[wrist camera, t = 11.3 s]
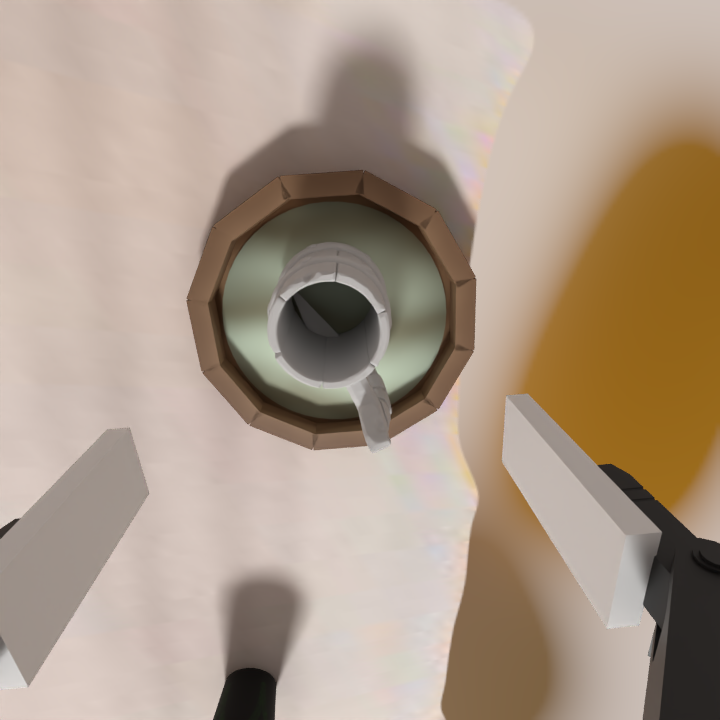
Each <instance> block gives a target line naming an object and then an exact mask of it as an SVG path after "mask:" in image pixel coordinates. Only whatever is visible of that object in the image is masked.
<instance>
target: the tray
mask: <svg viewBox="0 0 720 720" xmlns="http://www.w3.org/2000/svg"><path fill="white" fill-rule="evenodd" d="M214 226H215V227H212V229H211V232H210V235H209V238H208V240H207V243H206V246H205V249H204V251H203V254H202V257H201V260H200V263H199V265H198V268H197V271H196V274H195V277H194V279H193V282H192V285H191V288H190V290H189V293H188V296H187V299H188V300H187V306H188V310H189V315H190V320H191V325H192V329H193V334H194V339H195V343H196V348H197V353H198V357H199V362H200V367H201V371H204V372H203V374H204V375H205V376H206V378H207V379H208V380H209V381H210V382H211V383H212V384H213V385H214V387H215V388H216V389H217V390H218V391H219V392H220V393H221V395H222V396H223V397H224V398H225V399H226V400H227V401H228V402H229V404H230V405H231V406H232V407H233V408H234V409H235V410H236V411H237V413H238V414H239V415H240V416H241V417H242V418H243V419H244V421H245V422H246V423H247V424H249V423H250V426H252V427H254V428H257V429H260V430H262V431H265V432H267V433H270V434H272V435H275V436H277V437H280V438H283V439H285V440H288V441H290V442H293V443H295V444H298V445H300V446H303V447H306V448H308V449H311V450H312V449H313V448H314V450H322V449H335V448H347V447H359V446H367V443H366V441H365V438H364V434H363V431H362V426H361V421H360V417H359V412H358V409H357V407H356V405H355V403H354V402H353V400H352V398H351V396H350V394H349V392H348V390H347V388H346V387H343V388H336V389H325V388H323V386H322V385H321V387H320V388H317V387H312V386H309V385H306V384H304V383H302V382H300V381H298V380H296V379H295V378H293V377H292V376H291V375H289V374H288V373H287V372H286V371H284V369H283V368H282V367H281V366H280V365H279V363H278V362H277V361H276V359H275V352H273V350H272V348H271V346H270V345H269V341H268V335H267V324H268V313H267V309H268V304H269V303H270V300H271V297H272V294H273V292H274V289H275V287H276V286H277V284H278V280H279V278H280V275H281V273H282V271H283V269H284V268H285V266H286V265H287V263H288V262H289V261H290V260H291V259H292V258H293V257H294V256H295V255H296V254H297V253H299V252H300V251H302V250H303V249H305V248H306V247H308V246H310V245H312V244H319V243H324V242H338V243H343V244H347V245H350V246H353V247H355V248H357V249H359V250H360V251H362V252H363V253H366V254H367V255H369V256H370V258H371V260H372V261H373V262H374V263H375V264H376V266H377V267H378V269H379V270H380V272H381V274H382V276H383V279H384V282H385V285H386V291H387V296H388V299H389V303H390V309H391V318H392V326H391V329H390V338H389V343H388V346H387V349H386V352H385V354H384V356H383V358H382V359H381V360H380V361H379V365H378V366H377V367H375V369H376V371H377V373H378V374H379V375H380V376H381V378H382V379H383V381H384V384H385V387H386V390H387V393H388V397H389V400H390V404H391V408H392V414H391V420H390V423H389V430H388V433H389V438H390V439H391V438H392V437H394V436H396V435H397V434H399V433H401V432H402V431H404V430H406V429H407V428H409V427H411V426H412V425H414V424H416V423H417V422H419V421H421V420H422V419H424V418H426V417H427V416H429V415H431V414H432V413H434V412H436V411H437V409H439V408H440V406H441V405H442V403H443V401H444V400H445V398H446V396H447V395H448V393H449V391H450V390H451V388H452V386H453V385H454V383H455V381H456V380H457V378H458V377H459V375H460V373H461V372H462V370H463V368H464V367H465V365H466V363H467V362H468V360H469V358H470V357H471V355H472V353H473V350H474V340H475V303H476V301H475V300H476V279H475V275H474V273H473V271H472V269H471V268H470V266H469V264H468V262H467V261H466V259H465V257H464V255H463V254H462V252H461V250H460V248H459V247H458V245H457V243H456V241H455V239H454V238H453V236H452V234H451V232H450V231H449V229H448V227H447V225H446V224H445V222H444V220H443V218H442V217H441V215H440V213H439V211H436V209H435V208H434V207H432V206H430V205H428V204H426V203H424V202H423V201H421V200H419V199H417V198H415V197H413V196H411V195H410V194H408V193H406V192H404V191H402V190H400V189H398V188H397V187H395V186H393V185H391V184H389V183H387V182H386V181H384V180H382V179H380V178H378V177H376V176H374V175H373V174H371V173H369V172H367V171H364V173H363V170H355V171H341V172H327V173H313V174H299V175H285V176H280V177H277V178H275V179H274V180H273V181H271V182H270V183H269V184H268V185H266V186H265V187H264V188H262V189H261V190H260V191H258V192H257V193H256V194H254V195H253V196H252V197H250V198H249V199H248V200H246V201H245V202H244V203H242V204H241V205H240V206H238V207H237V208H236V209H234V210H233V211H232V212H230V213H229V214H228V215H227V216H225V217H224V218H223V219H221V220H220V221H219V222H217V223H216V224H215V225H214ZM297 292H298V293H299V294H300V295H301V296H302V298H303V299H304V300H305V301H306V302H307V303H308V304H309V305H310V306H311V307H312V308H313V309H314V310H315V311H316V312H317V313H318V314H319V315H320V316H321V317H322V318H323V319H324V320H325V321H326V322H327V323H328V324H329V325H330V326H331V328H332V329H333V330H334V331H335V332H336V333H337V334H340V333H344V332H347V331H350V330H352V329H353V328H355V327H356V326H358V325H359V324H360V323H361V322H362V321H363V320H365V317H366V315H367V314H368V312H369V310H370V308H371V305H372V304H371V303H370V302H369V300H368V299H367V298H366V297H365V296H364V295H363V294H362V293H360V292H359V291H357V290H356V289H354V288H352V287H350V286H348V285H345V284H342V283H339V282H336V281H334V282H319V283H314V284H311V285H309V286H306V287H304V288H302V289H300V290H299V291H297ZM291 297H292V302H293V305H294V308H295V309H294V310H295V311H296V312H297V314H298V316H299V317H300V319H301V320H302V321H303V318H302V316H301V313H300V311H299V308H298V306H297V304H296V301H295V299H294V296H291ZM303 322H304V321H303ZM436 408H437V409H436Z"/></svg>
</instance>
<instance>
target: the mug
mask: <svg viewBox="0 0 720 720" xmlns="http://www.w3.org/2000/svg"><path fill="white" fill-rule="evenodd" d="M334 281H336V282H339V283H342V284H345V285H348V286H350V287H352V288H354V289H356V290H357V291H359V292H360V293H362V294H363V295H364V296H365V297H366V298H367V299H368V300H369V302H370V303H371V304H372V305H371V308H370V310H369V312H368V314H367V315H366V317H365V320H363V321H362V322H361V323H360V324H359V325H358V326H356V327H355V328H353V329H352V330H350V331H347V332H344V333H340V334H337V333H336V332H335V331H334V330H333V329H332V328H331V326H330V325H329V324H328V323H327V322H326V321H325V320H324V319H323V318H322V317H321V316H320V315H319V314H318V313H317V312H316V311H315V310H314V309H313V308H312V307H311V306H310V305H309V304H308V303H307V302H306V301H305V300H304V299H303V298H302V296H301V295H300V294H299V293H298V292H297V291H299V290H300V289H302V288H304V287H306V286H309V285H311V284H314V283H319V282H334ZM291 296H294V299H295V301H296V304H297V306H298V308H299V311H300V313H301V316H302V318H303V321H304V322H303V321H302V320H301V319H300V317H299V316H298V314H297V312H296V311H295V310H294V309H295V308H294V305H293V302H292V297H291ZM267 313H268V324H267V335H268V341H269V345H270V346H271V348H272V350H273V352H275V359H276V361H277V362H278V363H279V365H280V366H281V367H282V368H283V369H284V371H286V372H287V373H288V374H289V375H291V376H292V377H293V378H295V379H296V380H298V381H300V382H302V383H304V384H306V385H309V386H312V387H317V388H320V387H321V385H322V386H323V388H325V389H336V388H343V387H346V388H347V390H348V392H349V394H350V396H351V398H352V400H353V402H354V403H355V405H356V407H357V409H358V412H359V417H360V421H361V426H362V431H363V434H364V438H365V441H366V443H367V446H368V447H369V449H370V451H371V452H372V453H375V452H378V451H380V450H382V449H384V448H386V447H388V446H389V445H390V444H391V441H390V438H389V433H388V430H389V423H390V420H391V414H392V408H391V404H390V400H389V397H388V393H387V390H386V387H385V384H384V381H383V379H382V378H381V376H380V375H379V374H378V373H377V371H376V369H375V367H377V366H378V365H379V361H380V360H381V359H382V358H383V356H384V354H385V352H386V349H387V346H388V343H389V338H390V329H391V326H392V318H391V309H390V303H389V299H388V296H387V291H386V285H385V282H384V279H383V276H382V274H381V272H380V270H379V269H378V267H377V266H376V264H375V263H374V262H373V261H372V260H371V258H370V256H369V255H367V254H366V253H363V252H362V251H360V250H359V249H357V248H355V247H353V246H350V245H347V244H343V243H338V242H324V243H319V244H312V245H310V246H308V247H306V248H305V249H303V250H302V251H300V252H299V253H297V254H296V255H295V256H294V257H293V258H292V259H291V260H290V261H289V262H288V263H287V265H286V266H285V268H284V269H283V271H282V273H281V275H280V278H279V280H278V284H277V286H276V287H275V289H274V292H273V294H272V297H271V300H270V303H269V304H268V309H267Z"/></svg>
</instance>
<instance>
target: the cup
mask: <svg viewBox="0 0 720 720" xmlns="http://www.w3.org/2000/svg"><path fill="white" fill-rule="evenodd" d="M275 700H276V682H275V680H274V678H273V677H272V676H271V675H270V674H269V673H267V672H265V671H263V670H260V669H255V668H246V669H241V670H238V671H235V672H233V673H232V674H231V675H230V676H229V677H228V678H227V680H226V682H225V685H224V688H223V691H222V694H221V697H220V700H219V703H218V706H217V709H216V712H215V715H214V718H213V720H275Z"/></svg>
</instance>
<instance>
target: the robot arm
mask: <svg viewBox="0 0 720 720" xmlns="http://www.w3.org/2000/svg"><path fill="white" fill-rule="evenodd" d="M502 462H503V464H504V466H505V467H506V469H507V470H508V472H509V474H510V475H511V477H512V478H513V480H514V481H515V483H516V485H517V486H518V488H519V489H520V491H521V492H522V494H523V496H524V497H525V499H526V501H527V502H528V504H529V505H530V507H531V508H532V510H533V512H534V513H535V515H536V517H537V518H538V520H539V521H540V523H541V525H542V526H543V528H544V529H545V531H546V533H547V534H548V535H549V537H550V539H551V540H552V542H553V544H554V545H555V547H556V548H557V550H558V552H559V553H560V555H561V556H562V558H563V560H564V561H565V563H566V564H567V566H568V568H569V569H570V571H571V572H572V574H573V576H574V577H575V579H576V580H577V582H578V583H579V585H580V587H581V588H582V590H583V591H584V593H585V595H586V596H587V598H588V599H589V601H590V603H591V604H592V606H593V607H594V609H595V611H596V612H597V614H598V615H599V617H600V618H601V620H602V622H603V623H604V625H605V626H606V628H607V629H610V628H620V627H630V626H639V625H640V621H641V617H642V613H643V609H644V607H645V608H646V609H647V611H648V612H649V613H650V615H651V616H652V617H653V619H654V620H655V621H656V626H655V630H654V633H653V637H652V641H651V645H650V649H649V652H648V656H650V657H651V658H650V666H649V674H648V682H647V689H646V697H645V705H644V714H643V720H720V544H719V543H717V542H715V541H711V540H706V539H702V538H696V537H695V536H694V535H693V534H692V533H691V532H690V531H689V530H688V529H687V528H686V527H685V526H684V525H683V524H682V523H680V521H678V520H677V519H676V518H675V517H674V516H673V515H672V514H671V513H670V512H669V511H668V510H667V509H666V508H665V507H664V506H663V505H662V504H661V503H659V502H658V501H657V500H655V499H654V497H653V496H652V495H651V494H650V493H649V492H648V491H647V490H644V489H643V486H642V485H640V484H639V483H638V482H637V481H636V480H635V479H634V478H633V477H632V476H631V475H630V474H628V473H626V472H625V471H623V470H621V469H619V468H617V467H616V466H614V465H612V464H605V465H596V464H595V463H594V462H593V461H592V459H591V458H589V456H588V455H587V454H586V453H584V451H583V450H582V449H581V448H580V447H579V446H578V445H577V444H576V443H575V442H574V441H573V440H572V439H571V438H570V437H569V436H568V435H567V434H566V433H565V432H564V431H563V430H562V429H561V428H560V427H559V426H558V424H557V423H556V422H555V421H553V419H552V418H551V417H550V416H549V415H548V414H547V413H546V412H545V411H544V410H543V409H542V408H541V407H540V406H539V405H538V404H537V403H536V402H535V401H534V400H533V399H532V398H531V397H530V396H529V395H528V394H519V395H507V396H506V407H505V422H504V438H503V453H502ZM148 495H149V490H148V487H147V484H146V480H145V477H144V474H143V470H142V467H141V464H140V460H139V457H138V454H137V450H136V447H135V444H134V440H133V437H132V434H131V430H130V428H120V429H109V430H106V431H105V432H104V433H103V434H102V435H101V436H100V437H99V439H98V440H97V441H96V442H95V443H94V444H93V445H92V446H91V447H90V448H89V449H88V450H87V451H86V452H85V453H84V454H83V455H82V456H81V457H80V458H79V459H78V460H77V461H76V462H75V463H74V464H73V465H72V466H71V467H70V468H69V469H68V470H67V471H66V472H65V473H64V474H63V475H62V477H61V478H60V479H59V480H58V481H57V482H56V483H55V484H54V485H53V486H52V487H51V488H50V489H49V490H48V491H47V492H46V493H45V494H44V495H43V496H42V497H41V498H40V499H39V500H38V501H37V502H36V503H35V504H34V505H33V506H32V507H31V508H30V509H29V510H28V511H27V512H26V513H25V515H24V516H23V517H22V518H20V519H14V520H13V521H11V522H10V523H8V524H7V525H5V526H4V527H3V528H1V529H0V690H4V689H14V688H24V687H29V685H30V684H31V682H32V680H33V679H34V677H35V676H36V674H37V672H38V671H39V669H40V668H41V666H42V664H43V663H44V661H45V660H46V658H47V656H48V655H49V653H50V652H51V650H52V648H53V647H54V645H55V644H56V642H57V640H58V639H59V637H60V636H61V634H62V632H63V631H64V629H65V628H66V626H67V624H68V623H69V621H70V620H71V618H72V616H73V615H74V613H75V612H76V610H77V608H78V607H79V605H80V603H81V602H82V600H83V599H84V597H85V595H86V594H87V592H88V591H89V589H90V587H91V586H92V584H93V583H94V581H95V579H96V578H97V576H98V575H99V573H100V571H101V570H102V568H103V567H104V565H105V563H106V562H107V560H108V559H109V557H110V555H111V554H112V552H113V551H114V549H115V547H116V546H117V544H118V543H119V541H120V539H121V538H122V536H123V535H124V533H125V531H126V530H127V528H128V527H129V525H130V523H131V522H132V520H133V519H134V517H135V515H136V514H137V512H138V511H139V509H140V507H141V506H142V504H143V503H144V501H145V499H146V498H147V496H148Z"/></svg>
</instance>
